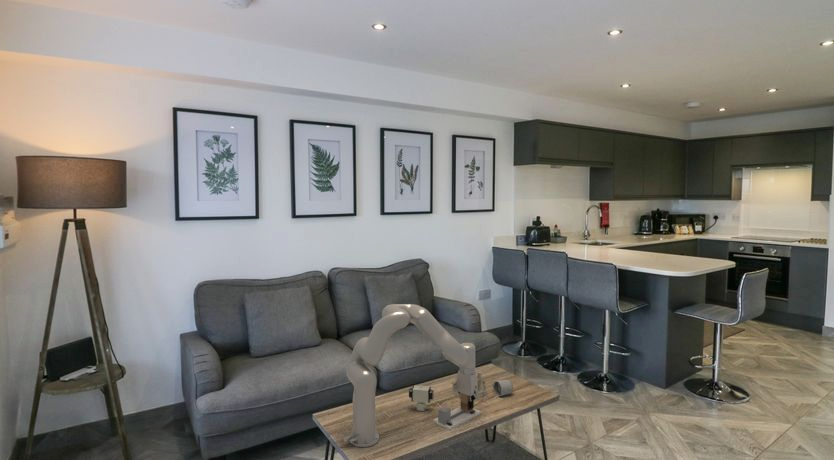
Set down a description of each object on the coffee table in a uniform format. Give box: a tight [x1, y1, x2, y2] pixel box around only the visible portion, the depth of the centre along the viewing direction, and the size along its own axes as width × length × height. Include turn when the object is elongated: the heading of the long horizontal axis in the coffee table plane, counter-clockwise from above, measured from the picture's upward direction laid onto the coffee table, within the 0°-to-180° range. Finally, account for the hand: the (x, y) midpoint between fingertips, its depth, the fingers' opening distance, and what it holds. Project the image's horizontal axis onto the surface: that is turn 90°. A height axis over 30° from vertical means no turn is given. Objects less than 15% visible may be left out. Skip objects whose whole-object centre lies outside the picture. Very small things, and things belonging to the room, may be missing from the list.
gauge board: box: [432, 405, 482, 431], centre depth 213 cm, size 22×10×7 cm, turn 134°
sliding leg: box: [460, 393, 475, 412], centre depth 216 cm, size 5×7×8 cm
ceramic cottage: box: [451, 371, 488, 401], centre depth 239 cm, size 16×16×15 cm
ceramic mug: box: [492, 379, 514, 397], centre depth 239 cm, size 11×8×8 cm
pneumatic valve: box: [408, 384, 435, 412], centre depth 222 cm, size 6×12×12 cm, turn 78°
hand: (467, 406), depth 218 cm, fingers closed on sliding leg, 4 cm apart
